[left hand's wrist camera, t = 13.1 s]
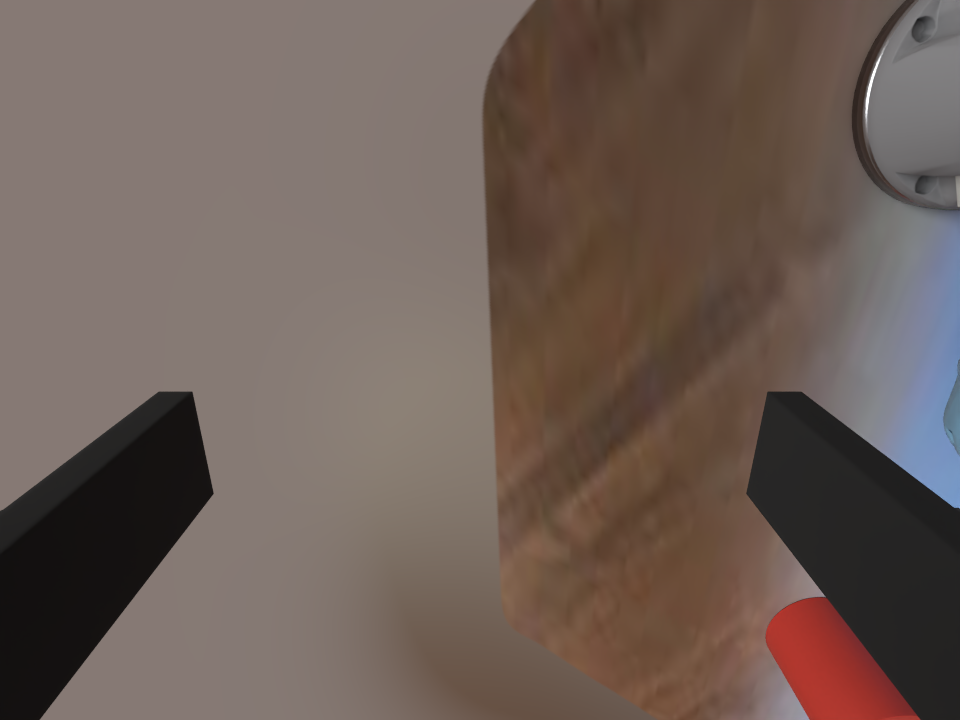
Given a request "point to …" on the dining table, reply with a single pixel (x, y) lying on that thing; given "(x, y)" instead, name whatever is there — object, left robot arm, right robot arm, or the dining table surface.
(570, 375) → the dining table surface
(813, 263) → the dining table surface
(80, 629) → the left robot arm
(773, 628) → the can
